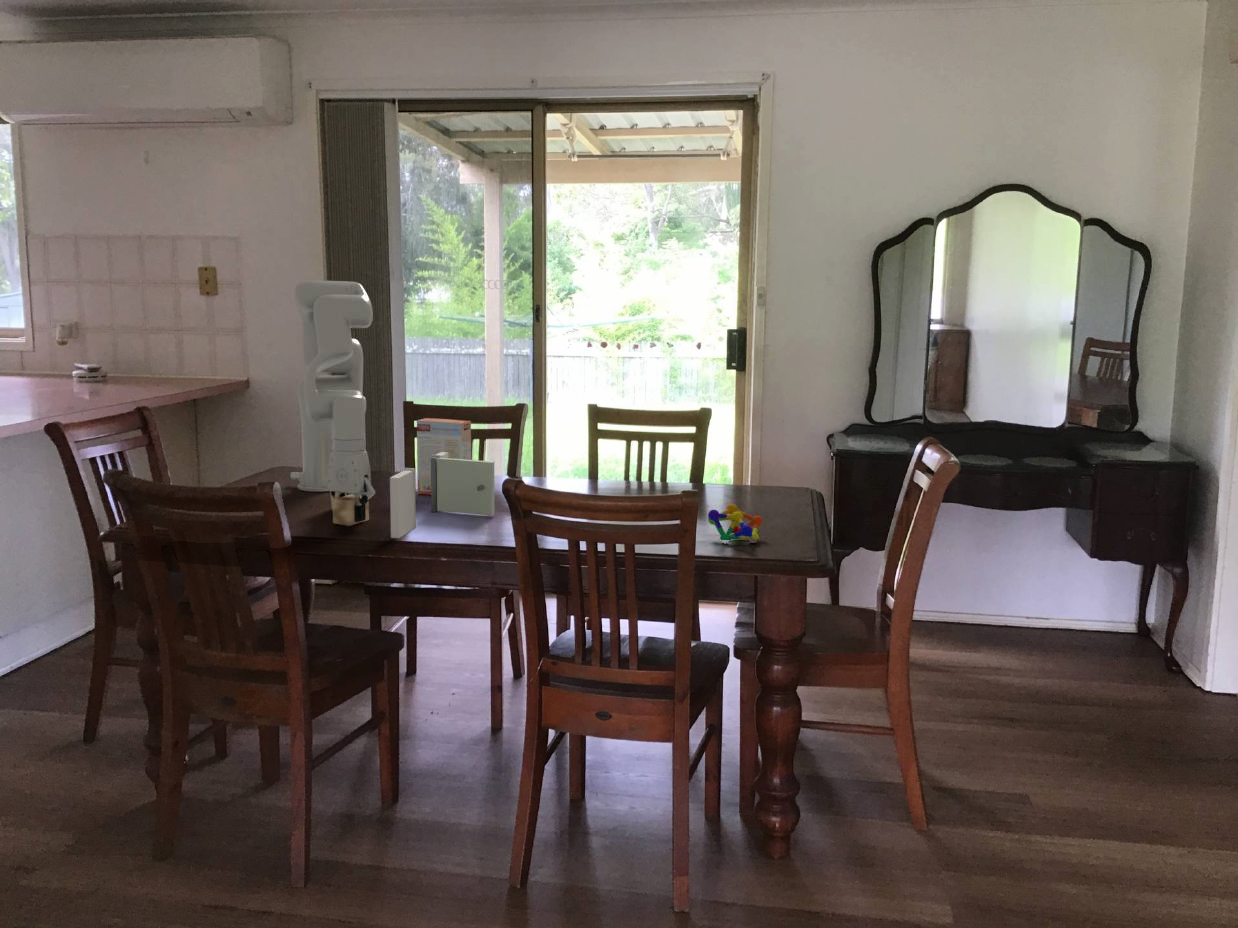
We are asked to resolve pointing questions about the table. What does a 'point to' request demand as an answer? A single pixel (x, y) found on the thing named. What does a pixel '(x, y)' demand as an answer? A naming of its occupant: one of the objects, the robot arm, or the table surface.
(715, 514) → the decorative model
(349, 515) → the wooden block
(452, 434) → the cracker box
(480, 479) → the door
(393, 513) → the wall
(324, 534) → the table surface
